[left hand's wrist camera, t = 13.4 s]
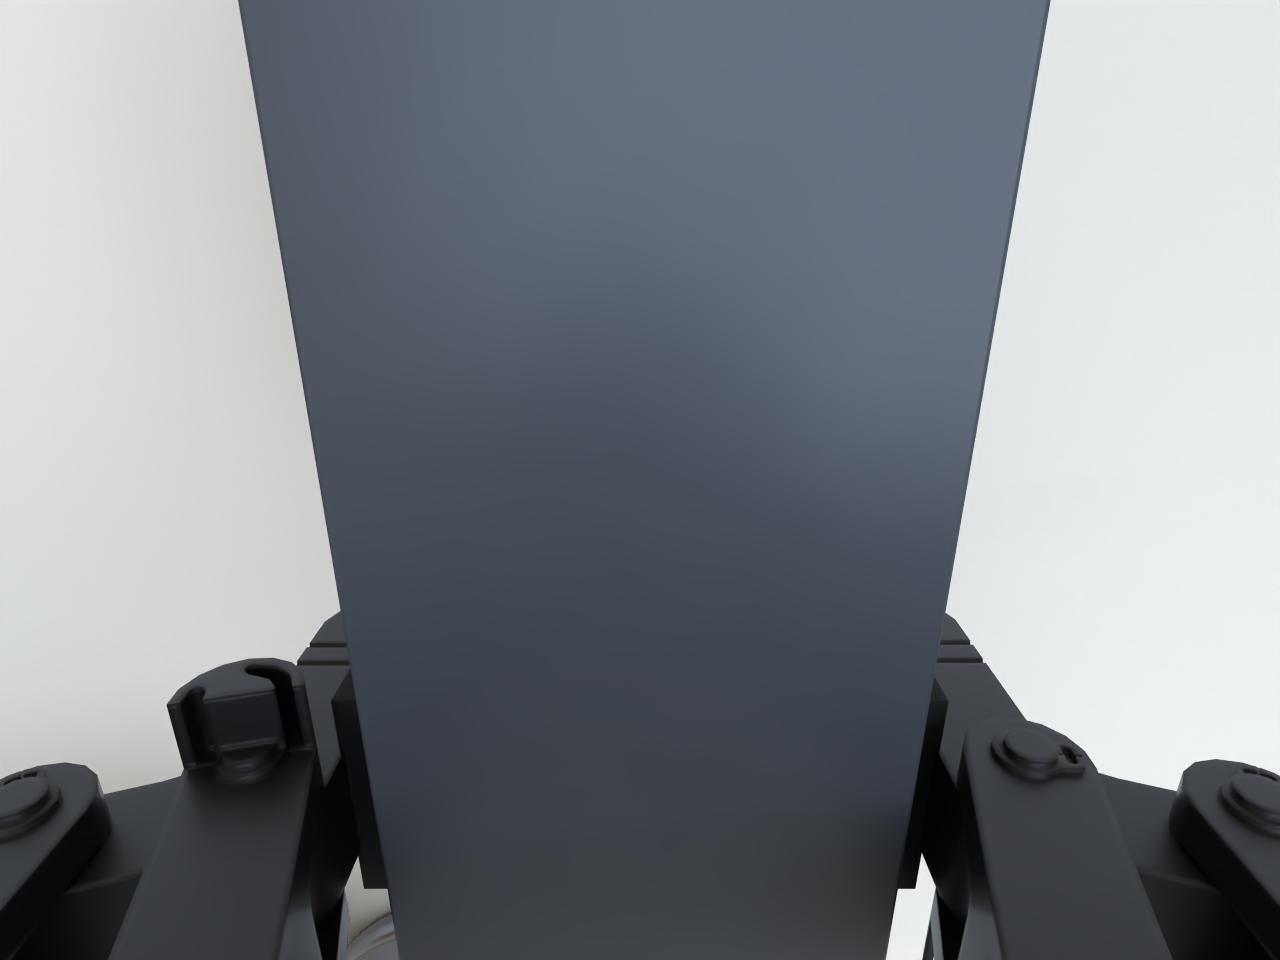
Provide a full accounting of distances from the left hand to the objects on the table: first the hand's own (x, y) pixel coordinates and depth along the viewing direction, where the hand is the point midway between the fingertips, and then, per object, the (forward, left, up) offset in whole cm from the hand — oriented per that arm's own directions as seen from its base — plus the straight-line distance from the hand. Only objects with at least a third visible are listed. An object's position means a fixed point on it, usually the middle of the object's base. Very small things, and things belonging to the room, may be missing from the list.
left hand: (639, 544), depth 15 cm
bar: (+8, +7, -1) cm, 10 cm away
